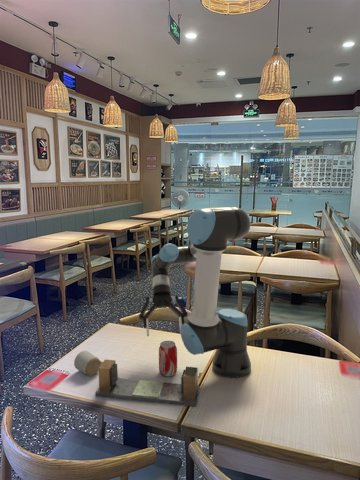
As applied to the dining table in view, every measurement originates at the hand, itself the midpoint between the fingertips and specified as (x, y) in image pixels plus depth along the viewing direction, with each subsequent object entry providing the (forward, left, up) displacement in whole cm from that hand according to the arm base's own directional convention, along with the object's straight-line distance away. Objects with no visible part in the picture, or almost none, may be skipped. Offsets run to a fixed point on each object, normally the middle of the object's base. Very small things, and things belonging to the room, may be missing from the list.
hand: (164, 334), depth 142 cm
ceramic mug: (+28, +10, -13) cm, 32 cm away
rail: (+1, +21, -12) cm, 25 cm away
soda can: (-3, +7, -13) cm, 15 cm away
